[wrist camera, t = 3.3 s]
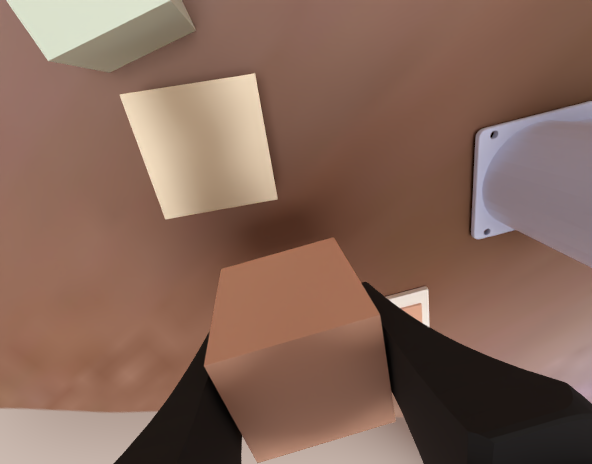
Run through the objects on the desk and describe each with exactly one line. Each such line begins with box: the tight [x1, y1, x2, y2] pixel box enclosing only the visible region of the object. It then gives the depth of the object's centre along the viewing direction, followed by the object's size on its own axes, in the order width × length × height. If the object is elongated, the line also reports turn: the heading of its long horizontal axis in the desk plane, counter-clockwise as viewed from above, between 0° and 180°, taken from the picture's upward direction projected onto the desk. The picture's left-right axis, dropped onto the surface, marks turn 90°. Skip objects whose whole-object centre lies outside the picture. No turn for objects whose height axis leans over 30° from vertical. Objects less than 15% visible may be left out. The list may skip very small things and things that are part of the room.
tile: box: [386, 286, 429, 327], centre depth 24 cm, size 5×6×1 cm
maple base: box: [120, 74, 278, 219], centre depth 16 cm, size 6×6×4 cm
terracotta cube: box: [204, 237, 396, 463], centre depth 11 cm, size 5×5×5 cm
